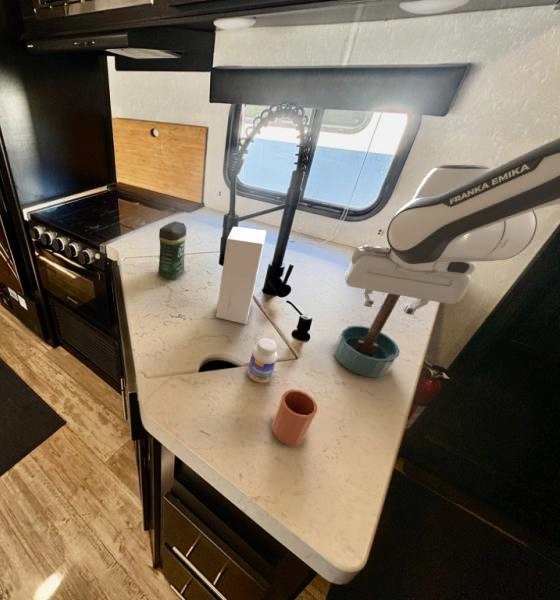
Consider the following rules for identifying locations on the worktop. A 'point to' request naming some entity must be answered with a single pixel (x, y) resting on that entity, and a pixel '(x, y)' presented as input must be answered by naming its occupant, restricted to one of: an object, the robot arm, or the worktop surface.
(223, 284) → the tall white carton
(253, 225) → the worktop surface
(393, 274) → the robot arm
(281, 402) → the crock
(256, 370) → the pill bottle
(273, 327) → the worktop surface
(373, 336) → the stick
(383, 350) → the bowl
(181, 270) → the coffee jar
